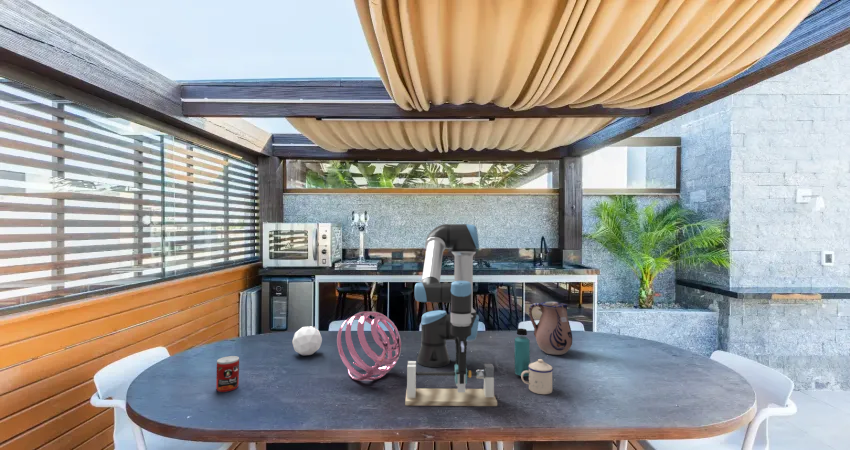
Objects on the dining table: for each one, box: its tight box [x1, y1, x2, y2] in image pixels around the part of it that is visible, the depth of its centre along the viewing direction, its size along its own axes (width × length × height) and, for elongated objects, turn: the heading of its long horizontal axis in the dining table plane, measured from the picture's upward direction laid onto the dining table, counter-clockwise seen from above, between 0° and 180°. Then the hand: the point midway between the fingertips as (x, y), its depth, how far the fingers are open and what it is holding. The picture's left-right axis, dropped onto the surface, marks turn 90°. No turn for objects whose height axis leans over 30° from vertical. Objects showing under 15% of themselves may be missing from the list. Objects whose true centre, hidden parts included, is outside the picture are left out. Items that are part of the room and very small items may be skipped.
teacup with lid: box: [520, 358, 554, 395], centre depth 146 cm, size 12×9×12 cm
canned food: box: [215, 355, 240, 393], centre depth 145 cm, size 8×8×11 cm
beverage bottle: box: [513, 328, 531, 377], centre depth 159 cm, size 6×7×20 cm
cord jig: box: [404, 360, 498, 407], centre depth 137 cm, size 32×11×12 cm, turn 90°
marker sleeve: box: [454, 364, 468, 385], centre depth 137 cm, size 4×5×5 cm
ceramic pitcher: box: [528, 301, 573, 356], centre depth 193 cm, size 18×21×25 cm
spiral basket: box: [336, 311, 402, 382], centre depth 159 cm, size 28×28×27 cm
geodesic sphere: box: [291, 325, 323, 356], centre depth 188 cm, size 15×14×14 cm
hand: (460, 388), depth 137 cm, fingers closed on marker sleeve, 5 cm apart
